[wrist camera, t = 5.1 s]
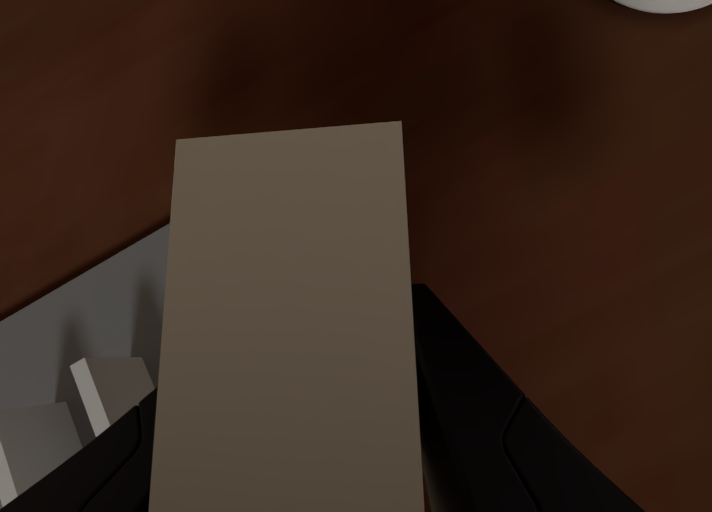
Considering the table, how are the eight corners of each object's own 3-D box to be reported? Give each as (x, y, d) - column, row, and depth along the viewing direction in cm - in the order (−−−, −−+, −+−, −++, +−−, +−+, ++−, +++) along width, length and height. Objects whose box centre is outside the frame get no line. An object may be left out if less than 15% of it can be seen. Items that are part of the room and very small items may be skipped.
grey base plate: (377, 597, 17) (368, 683, 12) (85, 776, 16) (-31, 929, 12) (192, 222, 21) (136, 187, 17) (-40, 357, 21) (-158, 358, 16)
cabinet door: (411, 456, 14) (446, 891, 3) (346, 457, 15) (123, 859, 3) (401, 265, 16) (395, 20, 4) (342, 269, 16) (183, 43, 4)
